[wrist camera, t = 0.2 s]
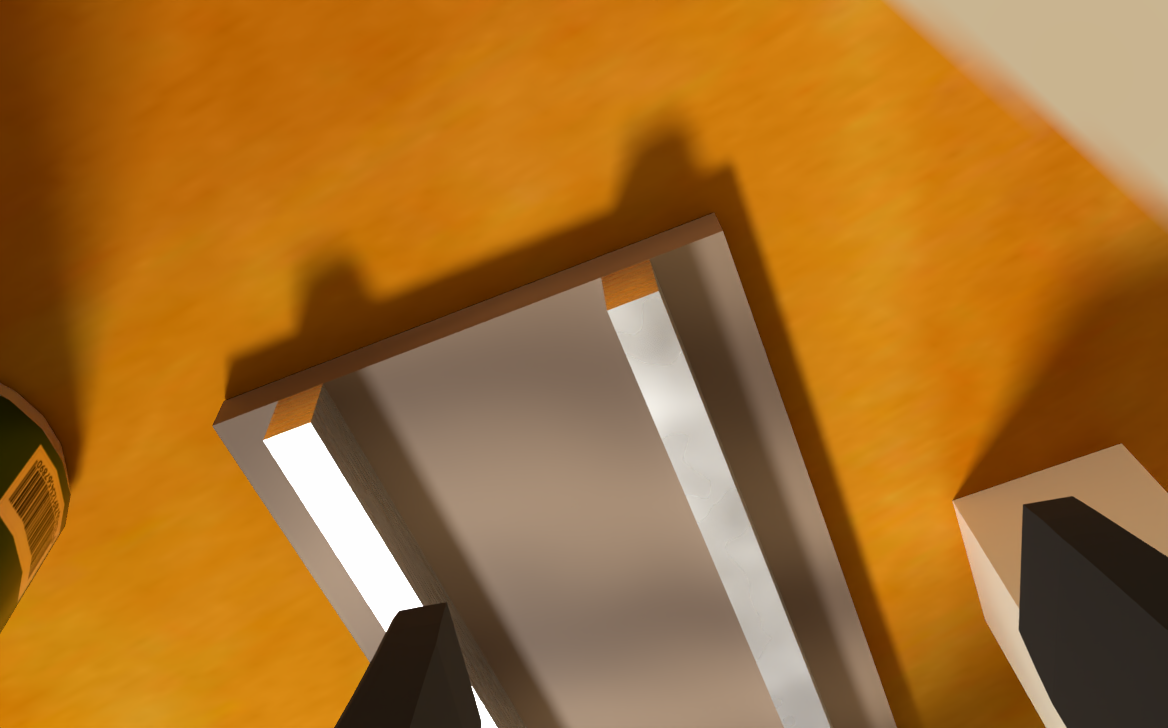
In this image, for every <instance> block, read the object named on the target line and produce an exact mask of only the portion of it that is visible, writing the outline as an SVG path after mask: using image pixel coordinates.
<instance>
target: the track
mask: <svg viewBox="0 0 1168 728" xmlns="http://www.w3.org/2000/svg"><path fill="white" fill-rule="evenodd" d="M213 428H214V429H215V431H216V432H217V434H218V435H219V437H220V438H221V440H222V441H223V443H224V444H225V446H226V447H227V449H228V450H229V452H230V453H231V455H232V456H233V458H234V459H235V461H236V462H237V464H238V465H239V467H240V468H241V470H242V471H243V473H244V474H245V476H246V477H247V479H248V480H249V482H250V483H251V485H252V486H253V488H254V489H255V491H256V492H257V494H258V495H259V497H260V498H261V500H262V501H263V503H264V504H265V506H266V507H267V509H268V510H269V512H270V513H271V515H272V516H273V518H274V519H275V521H276V522H277V524H278V525H279V527H280V528H281V530H282V531H283V533H284V534H285V536H286V537H287V539H288V540H289V542H290V543H291V545H292V546H293V548H294V549H295V551H296V552H297V554H298V555H299V557H300V558H301V560H302V561H303V563H304V564H305V566H306V567H307V569H308V570H309V572H310V573H311V575H312V576H313V578H314V579H315V581H316V582H317V584H318V585H319V587H320V588H321V590H322V591H323V593H324V594H325V596H326V597H327V599H328V600H329V602H330V603H331V605H332V606H333V608H334V609H335V611H336V612H337V614H338V615H339V617H340V618H341V620H342V621H343V623H344V624H345V626H346V627H347V629H348V630H349V632H350V633H351V635H352V636H353V638H354V639H355V641H356V642H357V644H358V645H359V647H360V648H361V650H362V651H363V653H364V654H365V656H366V657H367V659H368V660H369V662H371V660H372V658H373V657H374V655H375V653H376V651H377V649H378V647H379V645H380V643H381V641H382V639H383V637H384V635H385V633H386V631H387V629H388V627H389V625H390V623H391V621H392V619H393V617H394V616H395V615H396V614H397V612H398V611H399V610H403V609H409V608H414V607H420V606H426V605H432V604H438V603H444V602H447V604H448V608H449V611H450V615H451V618H452V621H453V625H454V628H455V631H456V635H457V638H458V642H459V645H460V648H461V652H462V655H463V658H464V662H465V665H466V669H467V672H468V675H469V679H470V682H471V685H472V689H473V692H474V696H475V699H476V702H477V706H478V709H479V713H480V716H481V719H482V728H897V726H896V724H895V721H894V718H893V715H892V712H891V709H890V706H889V704H888V701H887V698H886V695H885V692H884V689H883V686H882V684H881V681H880V678H879V675H878V672H877V669H876V666H875V664H874V661H873V658H872V655H871V652H870V649H869V646H868V644H867V641H866V638H865V635H864V632H863V629H862V626H861V624H860V621H859V618H858V615H857V612H856V609H855V606H854V604H853V601H852V598H851V595H850V592H849V589H848V586H847V584H846V581H845V578H844V575H843V572H842V569H841V566H840V564H839V561H838V558H837V555H836V552H835V549H834V547H833V544H832V541H831V538H830V535H829V532H828V529H827V527H826V524H825V521H824V518H823V515H822V512H821V509H820V507H819V504H818V501H817V498H816V495H815V492H814V489H813V487H812V484H811V481H810V478H809V475H808V472H807V469H806V467H805V464H804V461H803V458H802V455H801V452H800V449H799V447H798V444H797V441H796V438H795V435H794V432H793V429H792V427H791V424H790V421H789V418H788V415H787V412H786V409H785V407H784V404H783V401H782V398H781V395H780V392H779V389H778V387H777V384H776V381H775V378H774V375H773V372H772V369H771V367H770V364H769V361H768V358H767V355H766V352H765V349H764V347H763V344H762V341H761V338H760V335H759V332H758V329H757V327H756V324H755V321H754V318H753V315H752V312H751V309H750V307H749V304H748V301H747V298H746V295H745V292H744V289H743V287H742V284H741V281H740V278H739V275H738V272H737V269H736V267H735V264H734V261H733V258H732V255H731V252H730V249H729V247H728V244H727V241H726V238H725V235H724V232H723V230H722V228H721V226H720V223H719V221H718V219H717V217H716V215H715V213H712V214H709V215H707V216H704V217H701V218H699V219H696V220H694V221H691V222H688V223H686V224H683V225H681V226H678V227H675V228H673V229H670V230H668V231H665V232H662V233H660V234H657V235H655V236H652V237H649V238H647V239H644V240H642V241H639V242H636V243H634V244H631V245H629V246H626V247H623V248H621V249H618V250H616V251H613V252H610V253H608V254H605V255H603V256H600V257H597V258H595V259H592V260H590V261H587V262H584V263H582V264H579V265H577V266H574V267H571V268H569V269H566V270H564V271H561V272H558V273H556V274H553V275H551V276H548V277H545V278H543V279H540V280H538V281H535V282H532V283H530V284H527V285H525V286H522V287H519V288H517V289H514V290H512V291H509V292H506V293H504V294H501V295H499V296H496V297H493V298H491V299H488V300H486V301H483V302H480V303H478V304H475V305H473V306H470V307H467V308H465V309H462V310H460V311H457V312H454V313H452V314H449V315H447V316H444V317H441V318H439V319H436V320H434V321H431V322H428V323H426V324H423V325H421V326H418V327H415V328H413V329H410V330H408V331H405V332H402V333H400V334H397V335H395V336H392V337H389V338H387V339H384V340H382V341H379V342H376V343H374V344H371V345H369V346H366V347H363V348H361V349H358V350H356V351H353V352H350V353H348V354H345V355H343V356H340V357H337V358H335V359H332V360H330V361H327V362H324V363H322V364H319V365H317V366H314V367H311V368H309V369H306V370H304V371H301V372H298V373H296V374H293V375H291V376H288V377H285V378H283V379H280V380H278V381H275V382H272V383H270V384H267V385H265V386H262V387H259V388H257V389H254V390H252V391H249V392H246V393H244V394H241V395H239V396H236V397H233V398H231V399H228V400H226V401H224V402H223V404H222V406H221V408H220V411H219V413H218V415H217V417H216V419H215V421H214V423H213Z"/></svg>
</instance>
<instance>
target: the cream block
mask: <svg viewBox="0 0 1168 728" xmlns="http://www.w3.org/2000/svg"><path fill="white" fill-rule="evenodd" d="M1070 496H1073V497H1075V498H1077V499H1078V500H1080V501H1082V502H1083V503H1085V504H1086V505H1088V506H1090V507H1091V508H1093V509H1094V510H1096V511H1098V512H1099V513H1101V514H1102V515H1104V516H1105V517H1107V518H1108V519H1110V520H1111V521H1113V522H1115V523H1116V524H1118V525H1119V526H1121V527H1122V528H1124V529H1125V530H1127V531H1128V532H1130V533H1131V534H1133V535H1135V536H1136V537H1138V538H1139V539H1141V540H1142V541H1144V542H1145V543H1147V544H1149V545H1150V546H1152V547H1153V548H1155V549H1156V550H1158V551H1159V552H1161V553H1163V554H1164V555H1166V556H1167V557H1168V493H1167V492H1166V491H1165V490H1164V489H1163V488H1162V486H1161V485H1160V484H1159V483H1158V482H1157V481H1156V480H1155V479H1154V478H1153V477H1152V476H1151V475H1150V473H1149V472H1148V471H1147V470H1146V469H1145V468H1144V467H1143V466H1142V465H1141V464H1140V463H1139V462H1138V460H1137V459H1136V458H1135V457H1134V456H1133V455H1132V454H1131V453H1130V452H1129V451H1128V450H1127V449H1126V447H1125V446H1124V445H1123V444H1122V443H1121V444H1118V445H1115V446H1112V447H1109V448H1106V449H1103V450H1100V451H1097V452H1094V453H1091V454H1089V455H1086V456H1083V457H1080V458H1077V459H1074V460H1071V461H1068V462H1065V463H1062V464H1059V465H1056V466H1053V467H1050V468H1047V469H1044V470H1041V471H1038V472H1036V473H1033V474H1030V475H1027V476H1024V477H1021V478H1018V479H1015V480H1012V481H1009V482H1006V483H1003V484H1000V485H997V486H994V487H991V488H988V489H985V490H983V491H980V492H977V493H974V494H971V495H968V496H965V497H962V498H959V499H956V500H953V504H954V508H955V511H956V515H957V519H958V522H959V526H960V530H961V533H962V537H963V541H964V544H965V548H966V552H967V555H968V559H969V563H970V566H971V570H972V574H973V577H974V581H975V585H976V588H977V592H978V596H979V599H980V603H981V607H982V610H983V614H984V618H985V621H986V622H987V624H988V626H989V628H990V629H991V631H992V633H993V635H994V637H995V638H996V640H997V642H998V644H999V645H1000V647H1001V649H1002V651H1003V652H1004V654H1005V656H1006V658H1007V660H1008V661H1009V663H1010V665H1011V667H1012V668H1013V670H1014V672H1015V674H1016V675H1017V677H1018V679H1019V681H1020V683H1021V684H1022V686H1023V688H1024V690H1025V691H1026V693H1027V695H1028V697H1029V698H1030V700H1031V702H1032V704H1033V705H1034V707H1035V709H1036V711H1037V713H1038V714H1039V716H1040V718H1041V720H1042V721H1043V723H1044V725H1045V727H1046V728H1066V726H1065V724H1064V723H1063V721H1062V719H1061V718H1060V716H1059V714H1058V713H1057V711H1056V709H1055V708H1054V706H1053V704H1052V702H1051V700H1050V698H1049V696H1048V694H1047V692H1046V690H1045V688H1044V686H1043V683H1042V681H1041V679H1040V677H1039V675H1038V673H1037V671H1036V668H1035V666H1034V664H1033V662H1032V659H1031V657H1030V655H1029V653H1028V650H1027V648H1026V646H1025V644H1024V641H1023V639H1022V637H1021V634H1020V632H1019V602H1020V573H1021V544H1022V514H1023V504H1028V503H1034V502H1040V501H1046V500H1052V499H1058V498H1064V497H1070Z"/></svg>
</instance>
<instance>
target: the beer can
mask: <svg viewBox="0 0 1168 728" xmlns="http://www.w3.org/2000/svg"><path fill="white" fill-rule="evenodd" d="M69 501H70V487H69V479H68V472H67V468H66V463H65V459H64V455H63V450H62V446H61V443H60V442H59V440H58V439H57V437H56V435H55V434H54V432H53V431H52V429H51V427H50V426H49V424H48V423H47V421H46V419H45V418H44V416H43V415H42V414H41V413H39V412H38V411H37V410H36V409H35V408H34V407H33V406H32V405H31V404H29V403H28V402H27V401H26V400H25V399H24V398H23V397H22V396H21V395H19V394H18V393H17V392H16V391H14V390H12V389H11V388H9V387H7V386H5V385H3V384H1V383H0V633H1V631H2V630H3V628H4V626H5V625H6V623H7V621H8V620H9V618H10V616H11V615H12V613H13V611H14V610H15V608H16V606H17V605H18V603H19V601H20V600H21V598H22V596H23V595H24V593H25V591H26V590H27V588H28V586H29V585H30V583H31V581H32V580H33V578H34V576H35V575H36V573H37V571H38V570H39V568H40V566H41V565H42V563H43V561H44V560H45V558H46V557H47V555H48V553H49V552H50V550H51V548H52V547H53V545H54V543H55V542H56V540H57V538H58V537H59V535H60V533H61V532H62V530H63V528H64V527H65V524H66V518H67V512H68V506H69Z"/></svg>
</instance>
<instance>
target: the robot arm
mask: <svg viewBox="0 0 1168 728" xmlns="http://www.w3.org/2000/svg"><path fill="white" fill-rule="evenodd" d="M1019 632H1020V634H1021V637H1022V639H1023V641H1024V644H1025V646H1026V648H1027V650H1028V653H1029V655H1030V657H1031V659H1032V662H1033V664H1034V666H1035V668H1036V671H1037V673H1038V675H1039V677H1040V679H1041V681H1042V683H1043V686H1044V688H1045V690H1046V692H1047V694H1048V696H1049V698H1050V700H1051V702H1052V704H1053V706H1054V708H1055V709H1056V711H1057V713H1058V714H1059V716H1060V718H1061V719H1062V721H1063V723H1064V724H1065V726H1066V728H1168V557H1167V556H1166V555H1164V554H1163V553H1161V552H1159V551H1158V550H1156V549H1155V548H1153V547H1152V546H1150V545H1149V544H1147V543H1145V542H1144V541H1142V540H1141V539H1139V538H1138V537H1136V536H1135V535H1133V534H1131V533H1130V532H1128V531H1127V530H1125V529H1124V528H1122V527H1121V526H1119V525H1118V524H1116V523H1115V522H1113V521H1111V520H1110V519H1108V518H1107V517H1105V516H1104V515H1102V514H1101V513H1099V512H1098V511H1096V510H1094V509H1093V508H1091V507H1090V506H1088V505H1086V504H1085V503H1083V502H1082V501H1080V500H1078V499H1077V498H1075V497H1073V496H1070V497H1064V498H1058V499H1052V500H1046V501H1040V502H1034V503H1028V504H1023V514H1022V544H1021V573H1020V602H1019ZM334 728H482V719H481V716H480V713H479V709H478V706H477V702H476V699H475V696H474V692H473V689H472V685H471V682H470V679H469V675H468V672H467V669H466V665H465V662H464V658H463V655H462V652H461V648H460V645H459V642H458V638H457V635H456V631H455V628H454V625H453V621H452V618H451V615H450V611H449V608H448V604H447V602H444V603H438V604H432V605H426V606H420V607H414V608H409V609H403V610H399V611H398V612H397V614H396V615H395V616H394V617H393V619H392V621H391V623H390V625H389V627H388V629H387V631H386V633H385V635H384V637H383V639H382V641H381V643H380V645H379V647H378V649H377V651H376V653H375V655H374V657H373V658H372V660H371V662H370V664H369V666H368V668H367V670H366V672H365V674H364V676H363V677H362V679H361V681H360V683H359V685H358V687H357V689H356V690H355V692H354V694H353V696H352V698H351V700H350V701H349V703H348V705H347V706H346V708H345V710H344V712H343V713H342V715H341V717H340V719H339V720H338V722H337V724H336V726H335V727H334Z"/></svg>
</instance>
